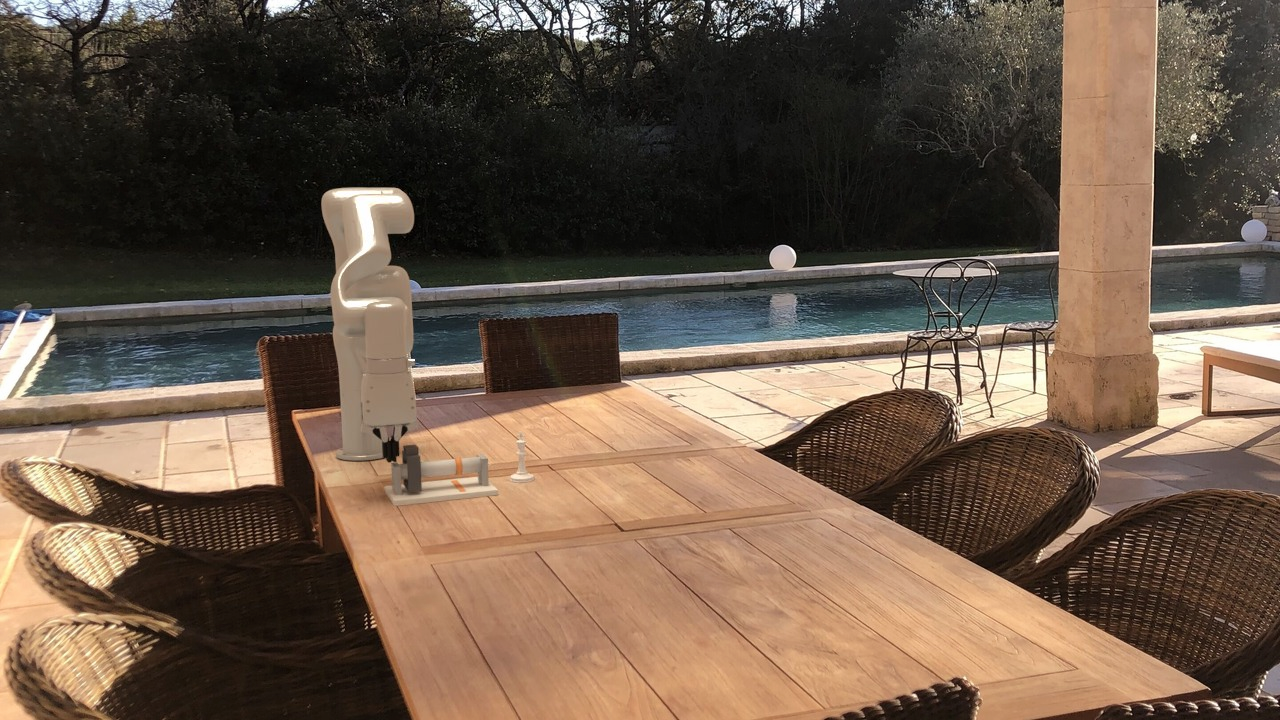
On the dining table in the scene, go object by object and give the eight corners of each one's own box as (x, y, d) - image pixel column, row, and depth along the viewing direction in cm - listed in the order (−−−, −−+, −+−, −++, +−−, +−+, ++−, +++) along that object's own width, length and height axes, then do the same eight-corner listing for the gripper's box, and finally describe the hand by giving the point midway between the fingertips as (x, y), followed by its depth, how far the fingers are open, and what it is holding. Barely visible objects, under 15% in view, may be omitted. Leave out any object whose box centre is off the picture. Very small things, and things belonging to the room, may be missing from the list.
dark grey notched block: (409, 492, 215) (407, 450, 213) (403, 484, 221) (401, 443, 220) (421, 491, 215) (420, 449, 214) (415, 483, 222) (413, 442, 220)
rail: (394, 506, 211) (392, 471, 210) (384, 491, 222) (383, 458, 221) (498, 494, 218) (497, 461, 217) (484, 480, 229) (482, 449, 228)
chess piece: (530, 483, 227) (528, 434, 226) (506, 482, 228) (505, 433, 227) (537, 477, 232) (536, 429, 231) (514, 476, 233) (513, 429, 232)
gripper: (423, 361, 219) (426, 453, 222) (344, 366, 214) (349, 460, 217) (429, 366, 212) (433, 461, 215) (348, 371, 207) (353, 468, 210)
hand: (391, 460), depth 216 cm, fingers closed
